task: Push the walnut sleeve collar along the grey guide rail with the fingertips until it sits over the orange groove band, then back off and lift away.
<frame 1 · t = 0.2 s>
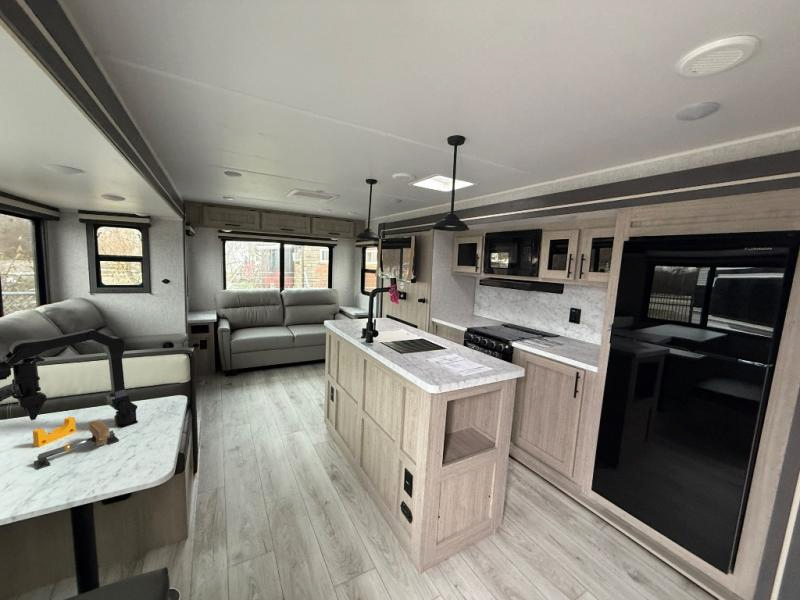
hand: (30, 416, 118), 14 cm above the table, fingers open, 9 cm apart
grey guide rail: (79, 451, 121), on the table
pipe clamp: (54, 439, 129), on the table
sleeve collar: (99, 434, 126), point 4 cm above the table, slide at 0.0 cm
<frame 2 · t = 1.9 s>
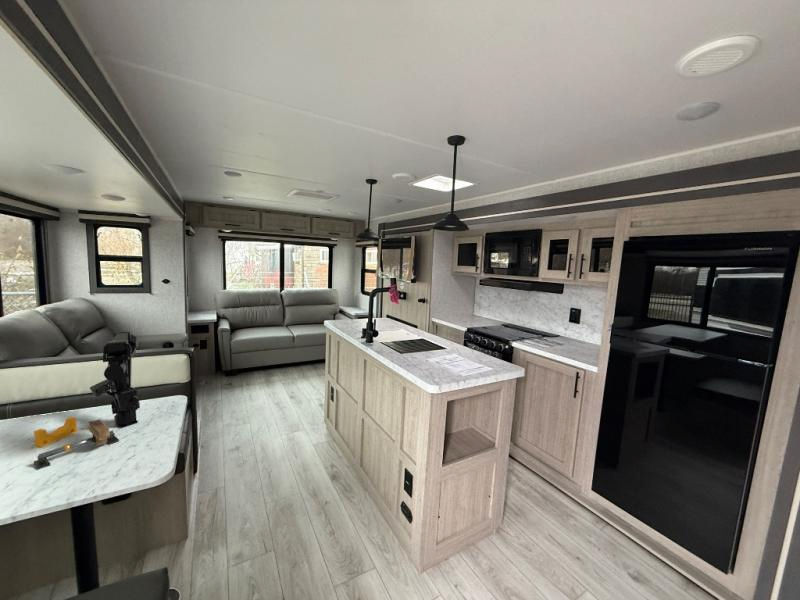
hand: (120, 409, 131), 12 cm above the table, fingers open, 3 cm apart
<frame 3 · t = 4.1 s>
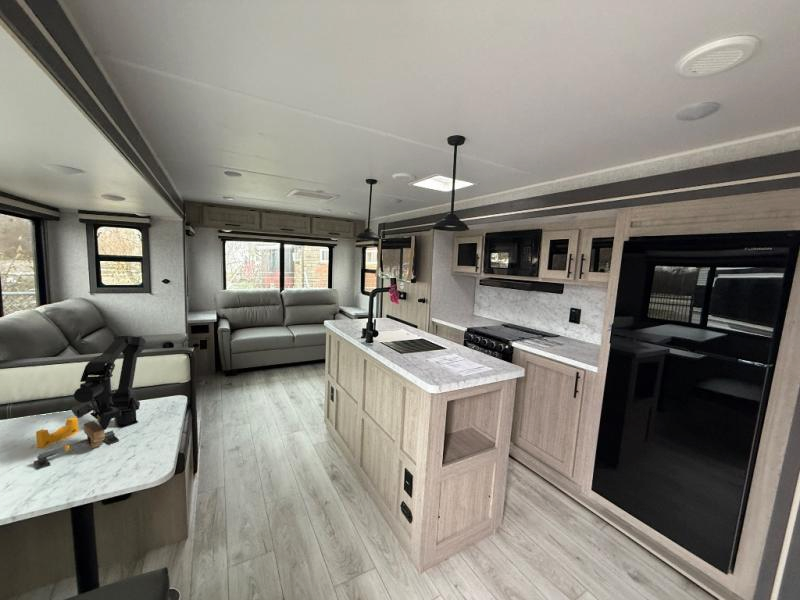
hand: (104, 429, 127), 6 cm above the table, fingers closed, pressing on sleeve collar
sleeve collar: (94, 435, 124), point 4 cm above the table, slide at 1.5 cm, touching gripper
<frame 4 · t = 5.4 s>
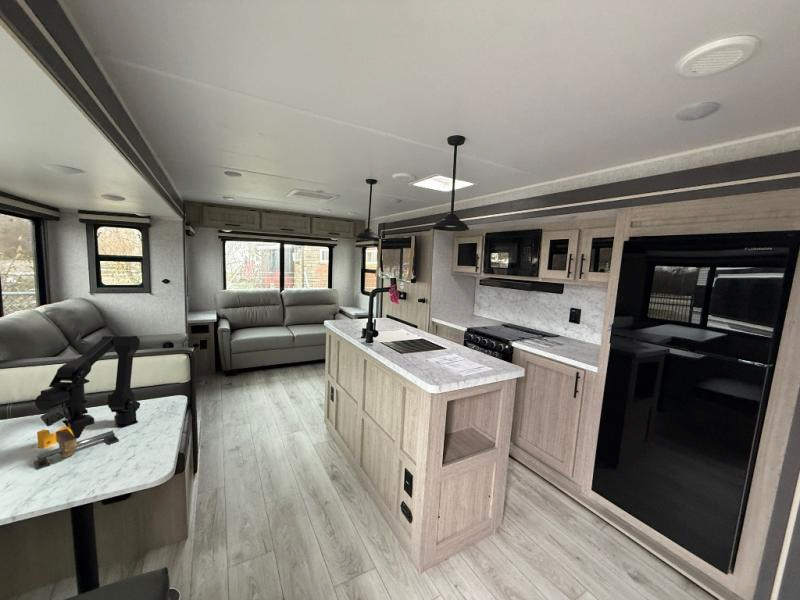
hand: (77, 438, 120), 6 cm above the table, fingers closed, pressing on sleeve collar
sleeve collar: (66, 444, 118), point 4 cm above the table, slide at 9.1 cm, touching gripper
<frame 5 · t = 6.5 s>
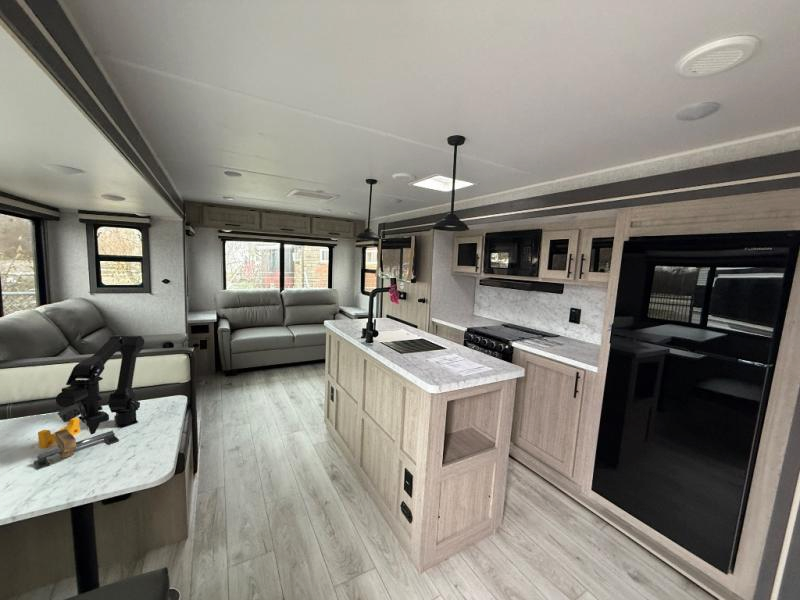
hand: (92, 433, 124), 5 cm above the table, fingers closed
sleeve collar: (65, 444, 118), point 4 cm above the table, slide at 9.3 cm
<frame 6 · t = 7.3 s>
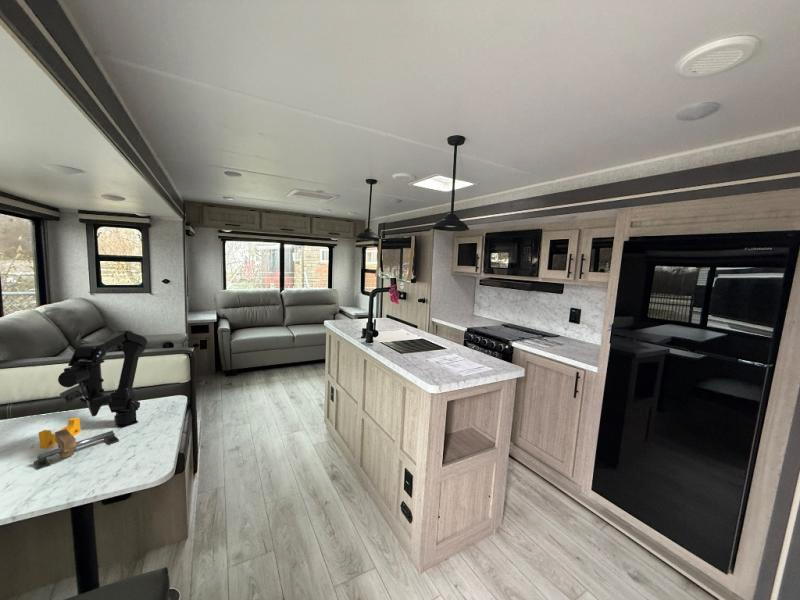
hand: (94, 415, 125), 12 cm above the table, fingers closed
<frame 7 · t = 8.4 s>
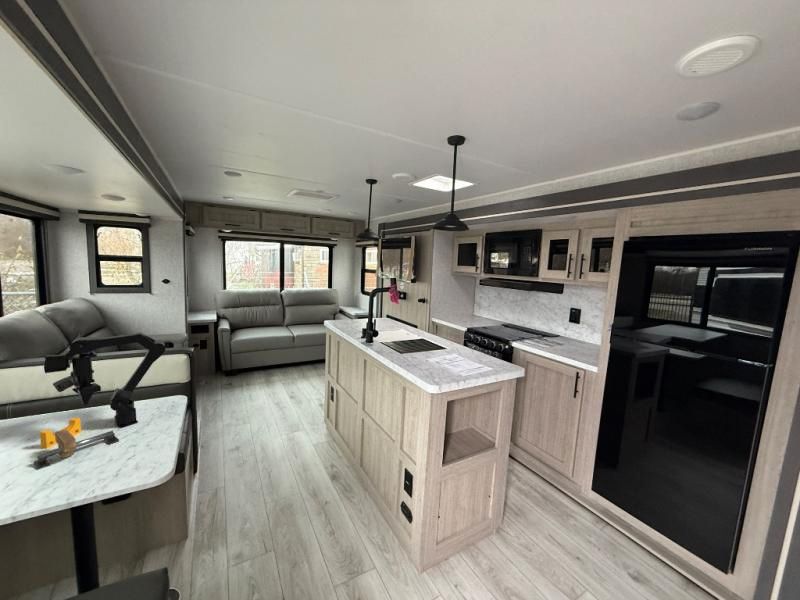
hand: (85, 404, 133), 12 cm above the table, fingers closed
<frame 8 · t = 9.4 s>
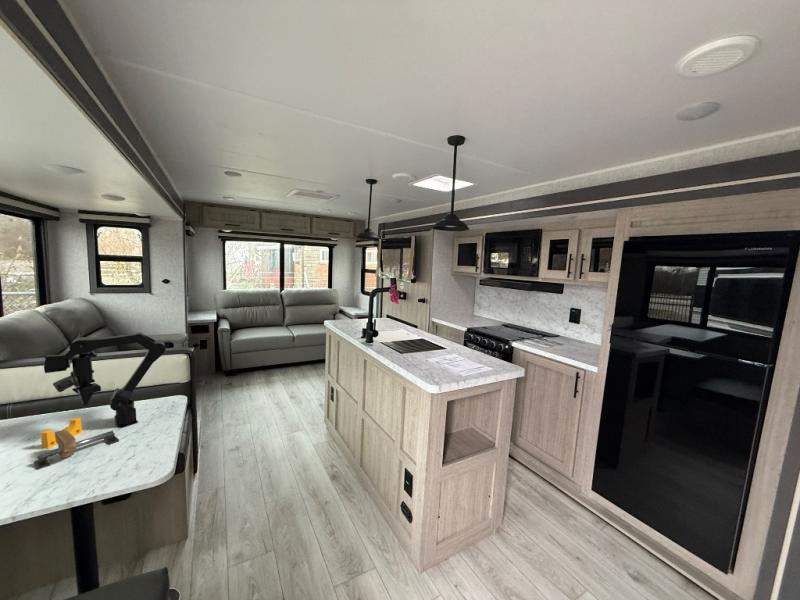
hand: (85, 404, 133), 12 cm above the table, fingers closed
at the end: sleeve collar slide at 9.3 cm; the gripper is holding nothing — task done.
